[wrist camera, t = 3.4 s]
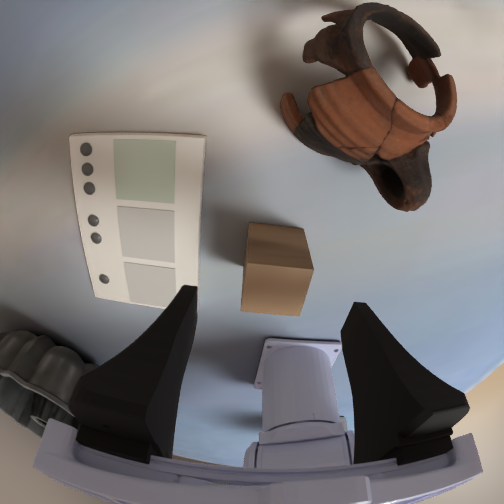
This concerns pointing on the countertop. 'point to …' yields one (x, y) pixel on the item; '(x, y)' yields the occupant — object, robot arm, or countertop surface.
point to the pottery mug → (374, 105)
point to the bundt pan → (38, 380)
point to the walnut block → (275, 270)
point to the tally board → (139, 212)
